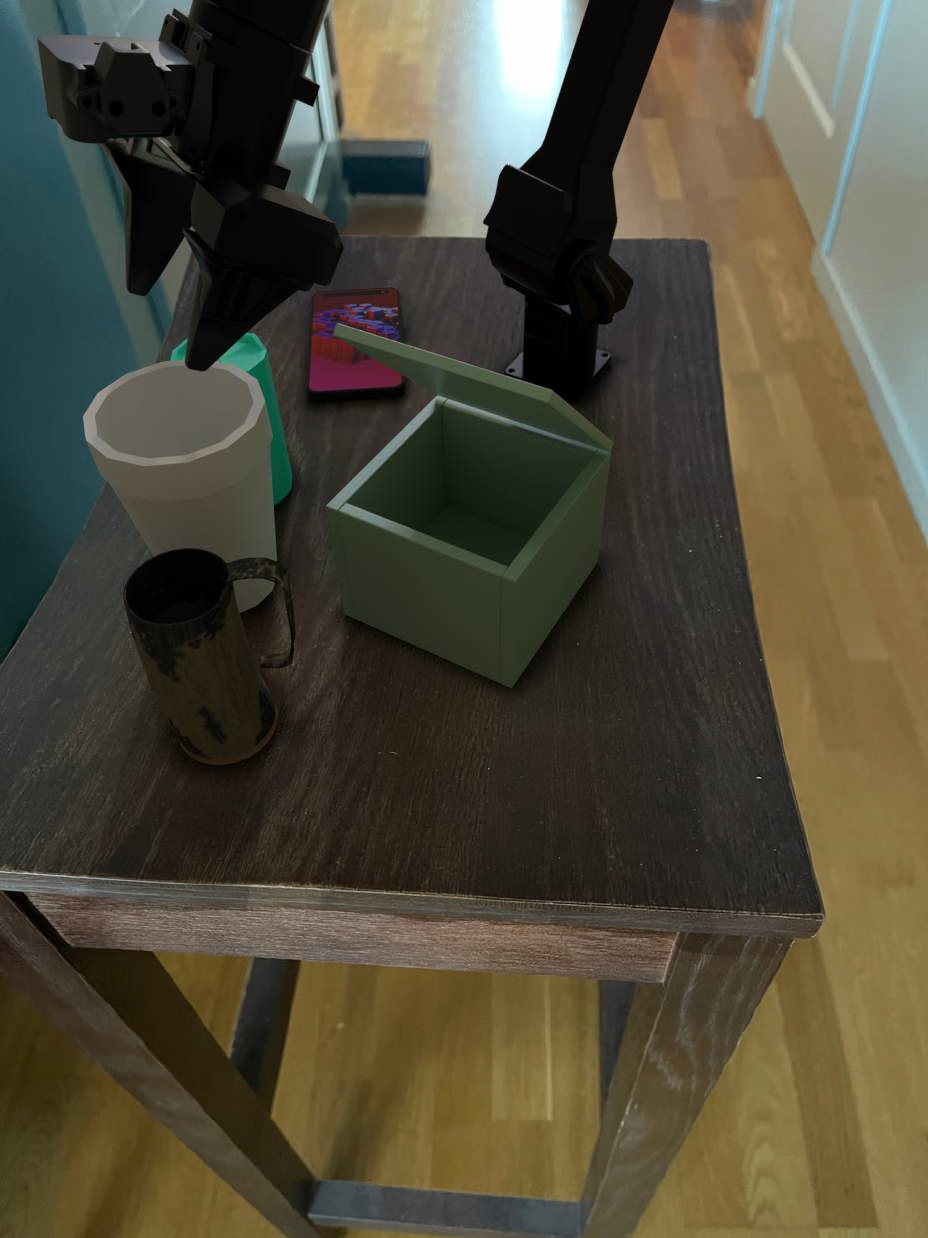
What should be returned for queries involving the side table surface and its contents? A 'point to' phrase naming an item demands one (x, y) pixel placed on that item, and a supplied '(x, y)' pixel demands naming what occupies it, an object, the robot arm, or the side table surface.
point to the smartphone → (341, 364)
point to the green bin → (470, 536)
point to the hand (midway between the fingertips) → (163, 329)
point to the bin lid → (479, 387)
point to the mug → (205, 650)
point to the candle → (256, 363)
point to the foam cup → (190, 461)
